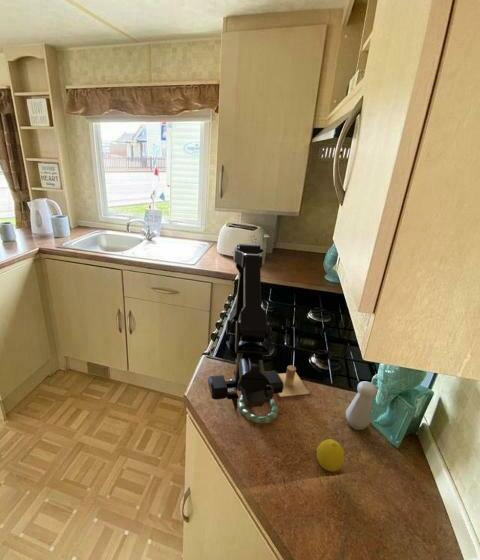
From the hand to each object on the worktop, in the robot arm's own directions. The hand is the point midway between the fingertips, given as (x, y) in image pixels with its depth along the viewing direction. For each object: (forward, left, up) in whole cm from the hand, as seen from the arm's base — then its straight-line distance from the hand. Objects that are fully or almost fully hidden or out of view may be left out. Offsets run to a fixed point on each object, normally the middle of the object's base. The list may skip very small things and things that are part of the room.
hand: (242, 407), depth 84 cm
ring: (0, +4, 0) cm, 4 cm away
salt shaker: (+8, +28, -1) cm, 30 cm away
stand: (-7, +16, -1) cm, 18 cm away
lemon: (+18, +14, -1) cm, 23 cm away
